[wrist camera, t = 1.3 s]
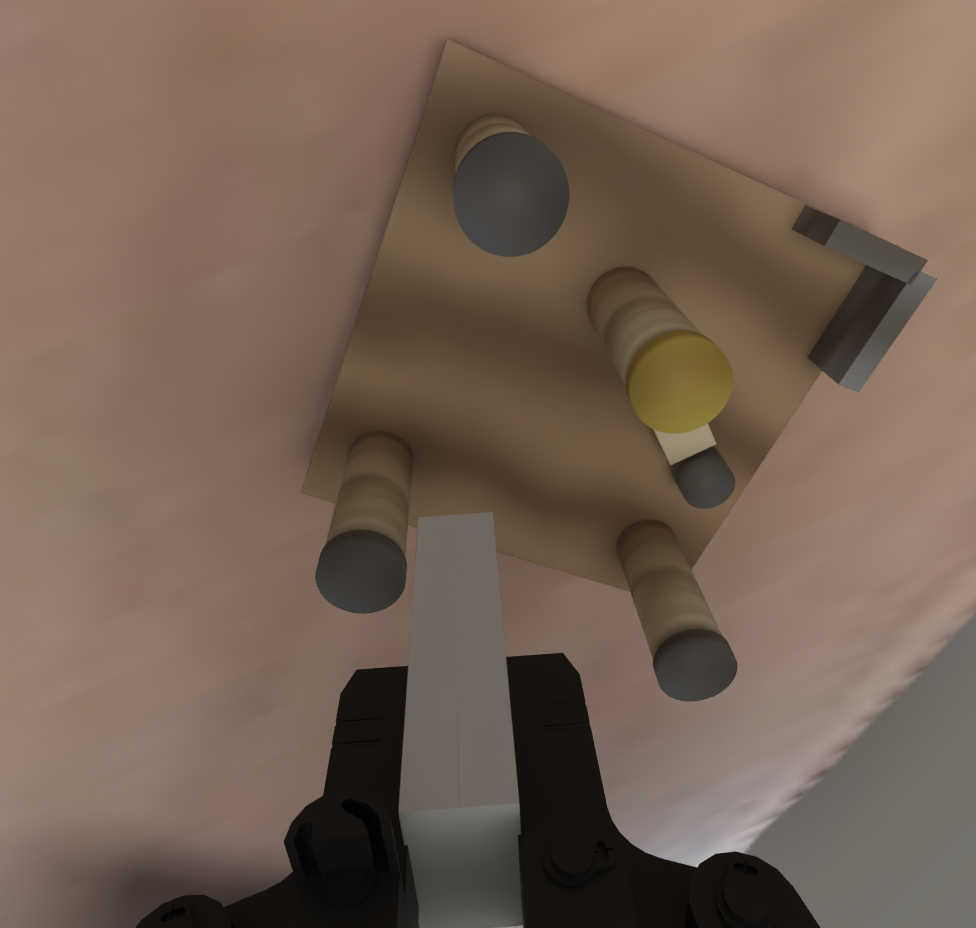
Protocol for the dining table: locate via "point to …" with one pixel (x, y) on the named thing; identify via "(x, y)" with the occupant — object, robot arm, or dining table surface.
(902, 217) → the dining table surface
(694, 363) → the swing leg
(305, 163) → the dining table surface
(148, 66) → the dining table surface
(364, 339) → the stool seat
